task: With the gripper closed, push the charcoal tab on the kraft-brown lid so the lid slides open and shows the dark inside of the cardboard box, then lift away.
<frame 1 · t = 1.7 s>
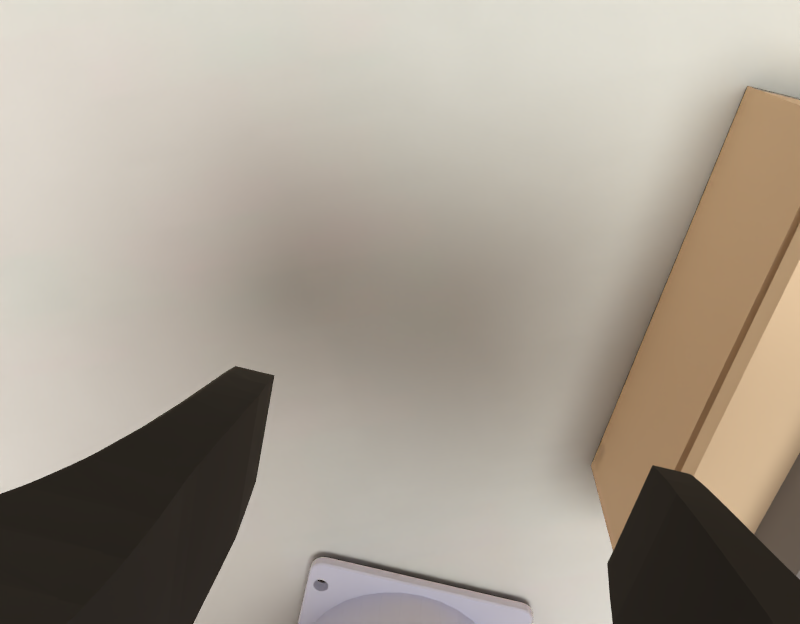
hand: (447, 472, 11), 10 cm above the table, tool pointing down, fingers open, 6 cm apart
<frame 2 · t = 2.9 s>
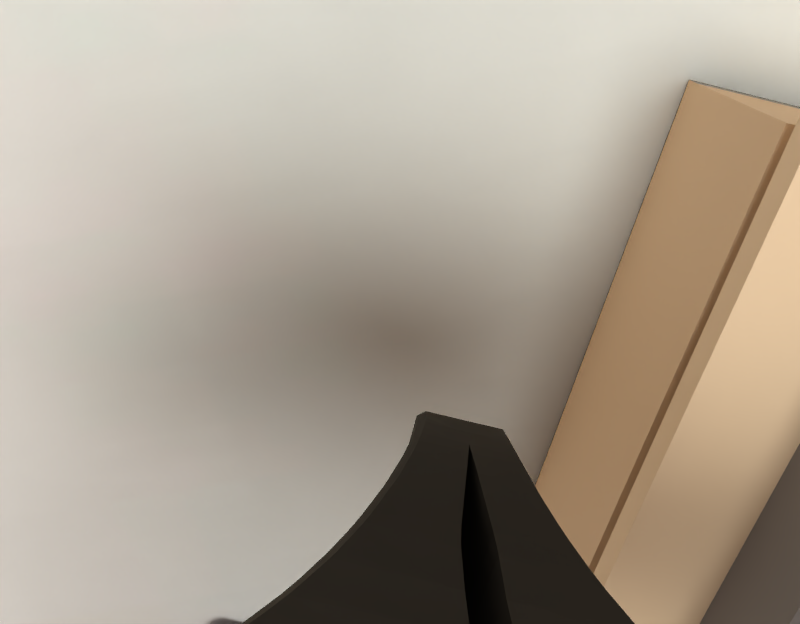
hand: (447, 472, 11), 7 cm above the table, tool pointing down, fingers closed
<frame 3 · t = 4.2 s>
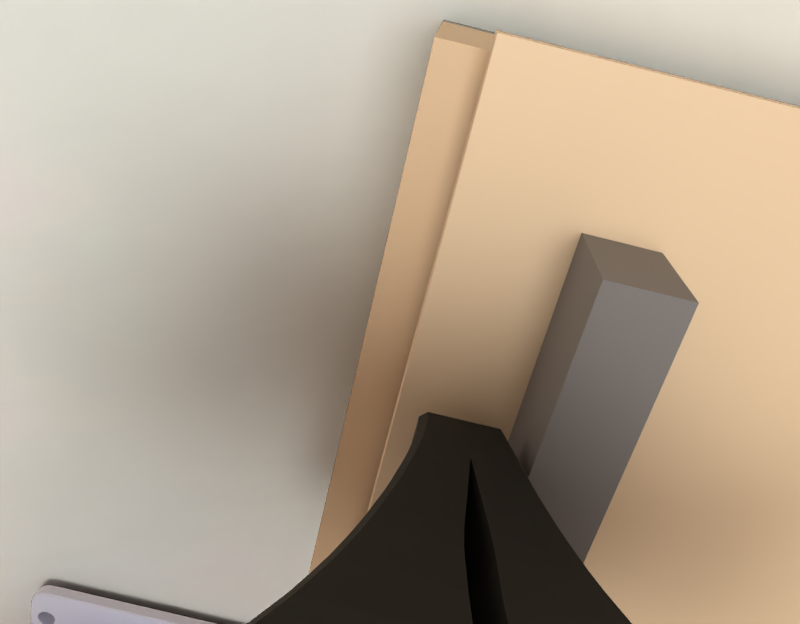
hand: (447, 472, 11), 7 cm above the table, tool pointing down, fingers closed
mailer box: (705, 363, 18), on the table
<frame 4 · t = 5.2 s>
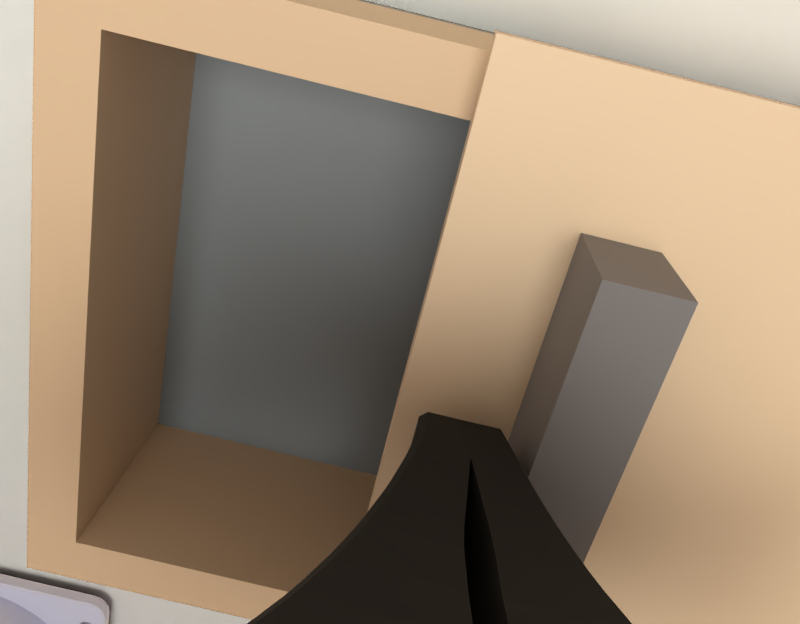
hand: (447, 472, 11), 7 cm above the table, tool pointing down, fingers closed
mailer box: (472, 306, 17), on the table
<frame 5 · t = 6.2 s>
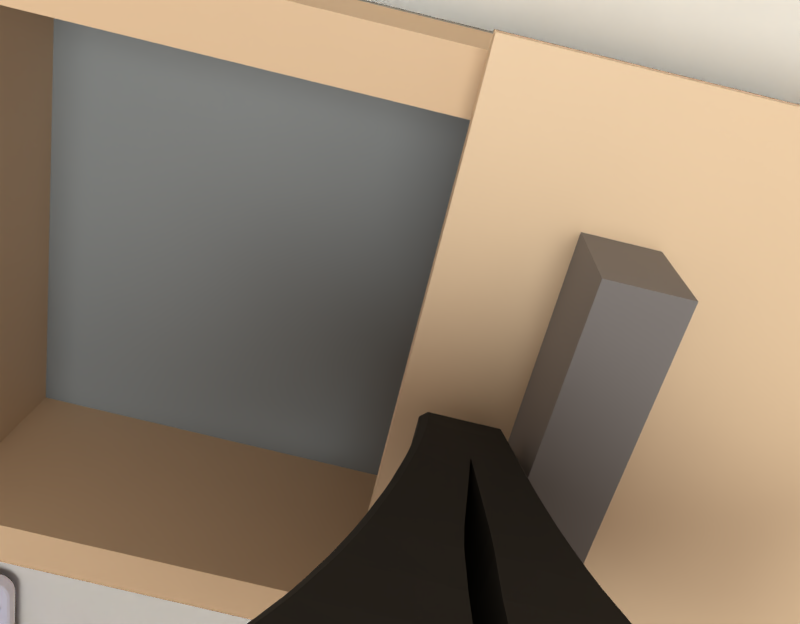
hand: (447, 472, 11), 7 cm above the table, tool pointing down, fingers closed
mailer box: (351, 277, 17), on the table
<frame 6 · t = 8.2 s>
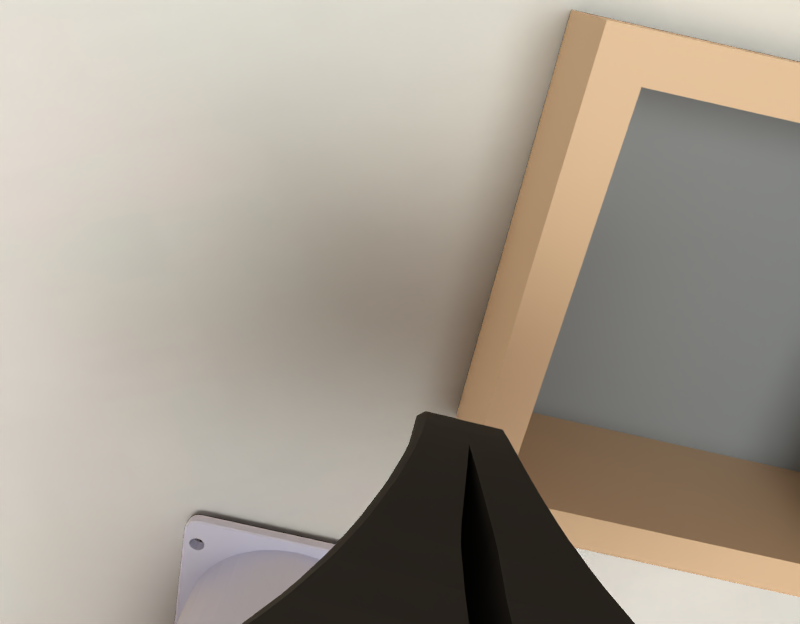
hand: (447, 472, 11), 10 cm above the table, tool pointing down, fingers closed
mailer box: (784, 299, 21), on the table
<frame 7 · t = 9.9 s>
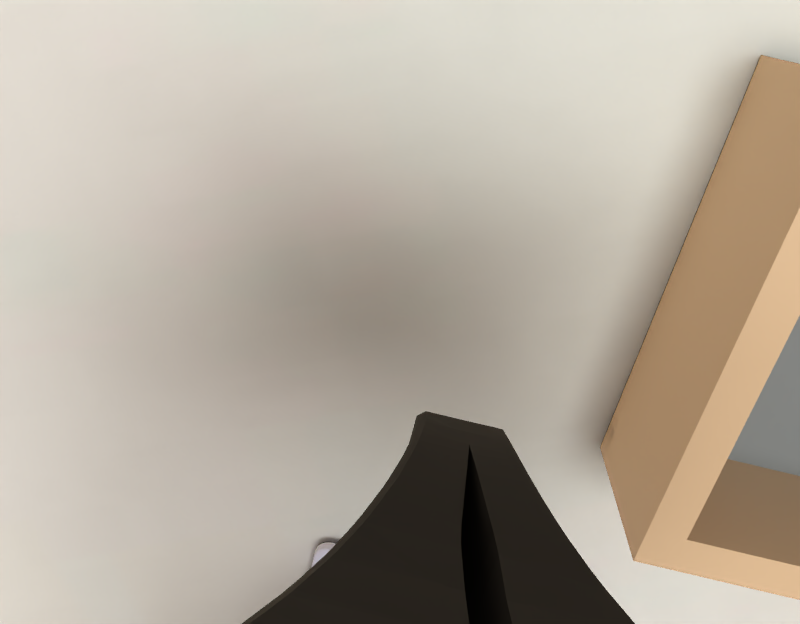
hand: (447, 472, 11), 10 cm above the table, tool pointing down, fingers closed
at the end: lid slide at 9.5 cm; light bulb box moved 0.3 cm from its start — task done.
